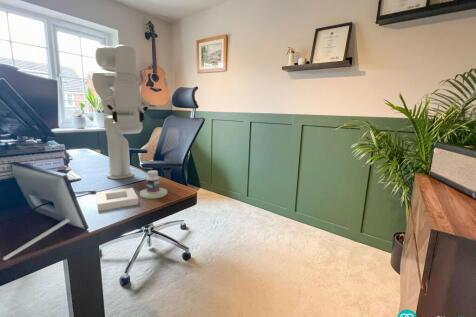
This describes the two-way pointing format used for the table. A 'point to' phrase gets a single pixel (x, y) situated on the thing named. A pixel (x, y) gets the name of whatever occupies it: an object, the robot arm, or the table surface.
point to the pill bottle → (152, 182)
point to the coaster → (153, 196)
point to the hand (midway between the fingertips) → (128, 121)
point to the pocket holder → (116, 199)
